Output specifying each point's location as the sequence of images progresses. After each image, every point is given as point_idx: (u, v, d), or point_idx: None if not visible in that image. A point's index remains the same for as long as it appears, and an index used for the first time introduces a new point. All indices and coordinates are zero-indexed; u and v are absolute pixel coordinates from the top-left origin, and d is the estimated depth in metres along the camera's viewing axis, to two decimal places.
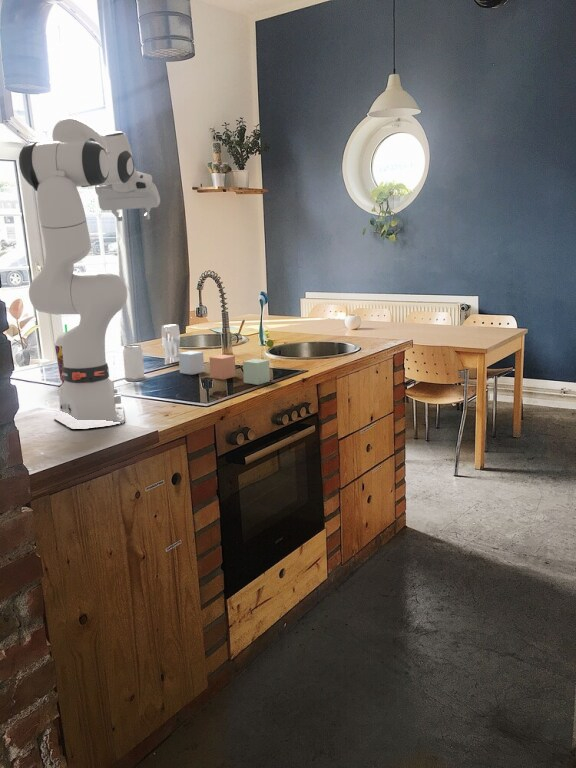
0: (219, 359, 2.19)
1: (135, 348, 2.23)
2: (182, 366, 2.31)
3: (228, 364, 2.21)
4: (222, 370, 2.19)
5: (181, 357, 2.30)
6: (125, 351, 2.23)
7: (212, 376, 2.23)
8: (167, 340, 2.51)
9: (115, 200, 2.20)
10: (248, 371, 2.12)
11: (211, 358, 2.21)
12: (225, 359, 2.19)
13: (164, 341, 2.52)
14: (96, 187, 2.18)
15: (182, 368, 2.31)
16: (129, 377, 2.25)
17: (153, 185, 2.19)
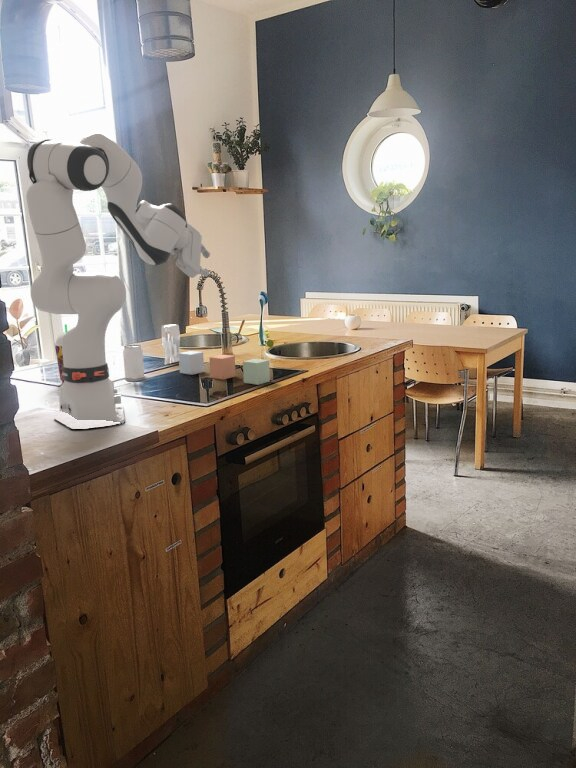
0: (219, 359, 2.19)
1: (135, 348, 2.23)
2: (182, 366, 2.31)
3: (228, 364, 2.21)
4: (222, 370, 2.19)
5: (181, 357, 2.30)
6: (125, 351, 2.23)
7: (212, 376, 2.23)
8: (167, 340, 2.51)
9: (192, 255, 2.08)
10: (248, 371, 2.12)
11: (211, 358, 2.21)
12: (225, 359, 2.19)
13: (164, 341, 2.52)
14: (178, 261, 2.03)
15: (182, 368, 2.31)
16: (129, 377, 2.25)
17: None
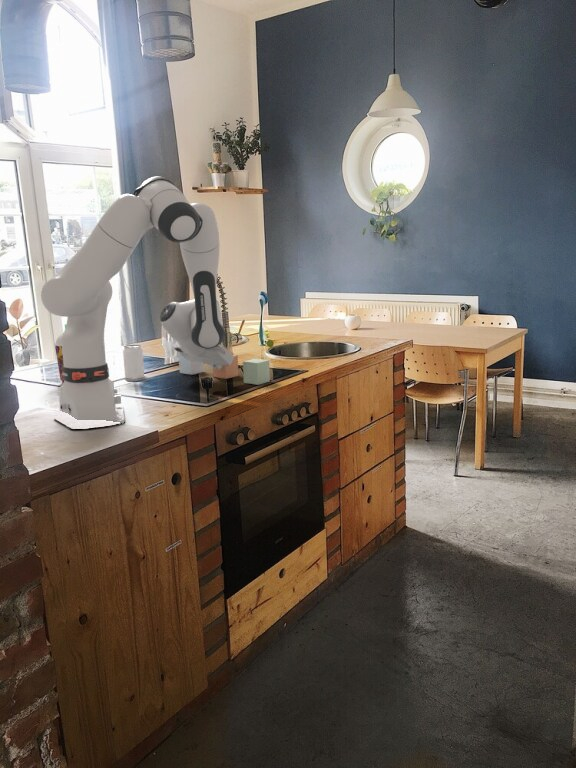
0: None
1: (135, 348, 2.23)
2: (182, 366, 2.31)
3: (231, 363, 2.22)
4: (225, 369, 2.20)
5: (181, 357, 2.30)
6: (125, 351, 2.23)
7: (215, 376, 2.24)
8: (167, 340, 2.51)
9: None
10: (248, 371, 2.12)
11: None
12: None
13: (164, 341, 2.52)
14: None
15: (182, 368, 2.31)
16: (129, 377, 2.25)
17: None
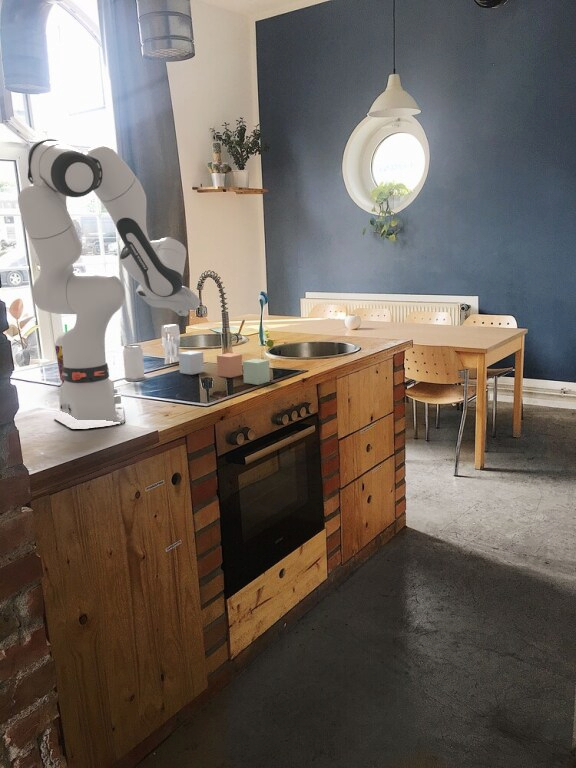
0: (226, 357, 2.22)
1: (135, 348, 2.23)
2: (182, 366, 2.31)
3: (235, 362, 2.23)
4: (229, 368, 2.22)
5: (181, 357, 2.30)
6: (125, 351, 2.23)
7: (219, 374, 2.25)
8: (167, 340, 2.51)
9: None
10: (248, 371, 2.12)
11: (218, 356, 2.24)
12: (232, 357, 2.22)
13: (164, 341, 2.52)
14: None
15: (182, 368, 2.31)
16: (129, 377, 2.25)
17: None
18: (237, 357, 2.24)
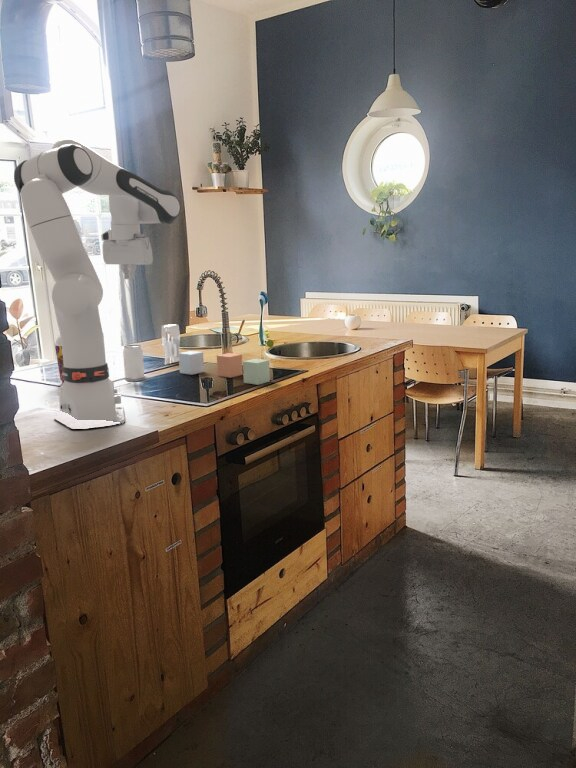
0: (226, 357, 2.22)
1: (135, 348, 2.23)
2: (182, 366, 2.31)
3: (235, 362, 2.23)
4: (229, 368, 2.22)
5: (181, 357, 2.30)
6: (125, 351, 2.23)
7: (219, 374, 2.25)
8: (167, 340, 2.51)
9: None
10: (248, 371, 2.12)
11: (218, 356, 2.24)
12: (232, 357, 2.22)
13: (164, 341, 2.52)
14: None
15: (182, 368, 2.31)
16: (129, 377, 2.25)
17: None
18: (237, 357, 2.24)
